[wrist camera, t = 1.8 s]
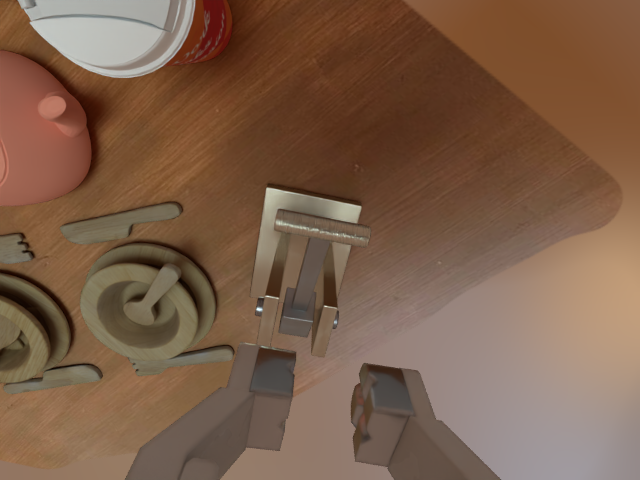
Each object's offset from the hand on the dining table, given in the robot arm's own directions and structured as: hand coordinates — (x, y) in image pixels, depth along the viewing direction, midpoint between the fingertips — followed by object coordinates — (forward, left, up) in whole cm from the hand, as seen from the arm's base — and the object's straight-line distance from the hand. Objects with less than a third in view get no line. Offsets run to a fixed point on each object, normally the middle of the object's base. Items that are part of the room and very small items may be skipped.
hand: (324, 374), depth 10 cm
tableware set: (+21, -22, -26) cm, 40 cm away
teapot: (+2, -25, -26) cm, 36 cm away
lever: (+4, 0, -14) cm, 15 cm away
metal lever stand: (+9, 0, -26) cm, 28 cm away
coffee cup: (-9, -12, -26) cm, 30 cm away
